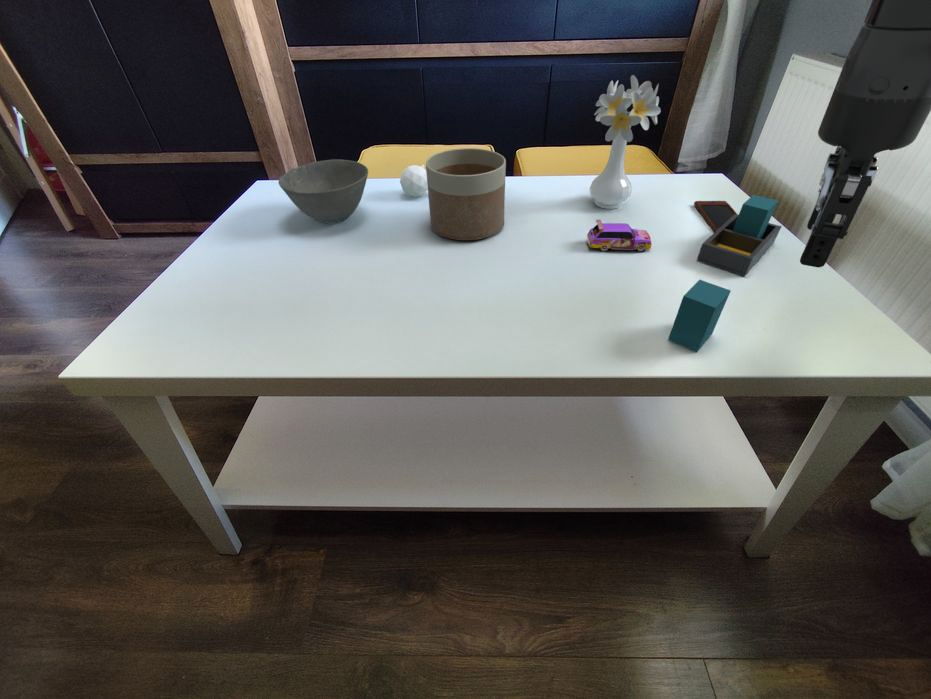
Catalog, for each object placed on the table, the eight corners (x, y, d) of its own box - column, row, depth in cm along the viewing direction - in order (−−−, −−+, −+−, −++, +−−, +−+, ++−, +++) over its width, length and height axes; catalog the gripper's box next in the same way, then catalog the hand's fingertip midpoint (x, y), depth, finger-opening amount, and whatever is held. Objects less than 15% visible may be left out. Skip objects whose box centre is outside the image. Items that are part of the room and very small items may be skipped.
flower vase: (580, 220, 99) (600, 92, 82) (581, 188, 112) (598, 71, 96) (642, 224, 97) (675, 93, 80) (635, 190, 110) (662, 72, 94)
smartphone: (726, 200, 102) (754, 232, 91) (724, 204, 103) (752, 236, 92) (694, 200, 103) (718, 232, 92) (692, 204, 103) (716, 236, 92)
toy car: (652, 253, 87) (658, 231, 84) (589, 252, 88) (592, 230, 85) (645, 239, 92) (651, 218, 89) (585, 238, 93) (589, 217, 90)
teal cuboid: (761, 239, 89) (778, 200, 84) (751, 250, 86) (768, 210, 81) (737, 233, 91) (753, 194, 86) (727, 243, 88) (742, 203, 83)
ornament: (402, 189, 114) (417, 160, 112) (425, 204, 113) (441, 175, 111) (389, 184, 108) (405, 153, 105) (414, 201, 107) (430, 169, 104)
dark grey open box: (773, 243, 89) (781, 226, 87) (744, 276, 80) (752, 259, 78) (728, 230, 94) (735, 213, 91) (696, 260, 85) (702, 243, 83)
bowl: (333, 195, 113) (323, 154, 106) (391, 211, 105) (385, 167, 98) (273, 225, 101) (258, 180, 95) (333, 245, 93) (322, 198, 87)
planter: (427, 213, 103) (422, 151, 94) (495, 207, 105) (496, 145, 96) (435, 246, 92) (430, 179, 83) (511, 238, 93) (514, 171, 84)
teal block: (712, 334, 69) (731, 290, 64) (696, 352, 66) (715, 308, 61) (683, 322, 71) (699, 279, 66) (667, 339, 68) (683, 295, 63)
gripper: (951, 109, 34) (852, 286, 45) (936, 65, 43) (856, 224, 54) (832, 105, 38) (767, 270, 49) (840, 65, 46) (783, 214, 57)
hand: (814, 246), depth 51 cm, fingers open, 8 cm apart
